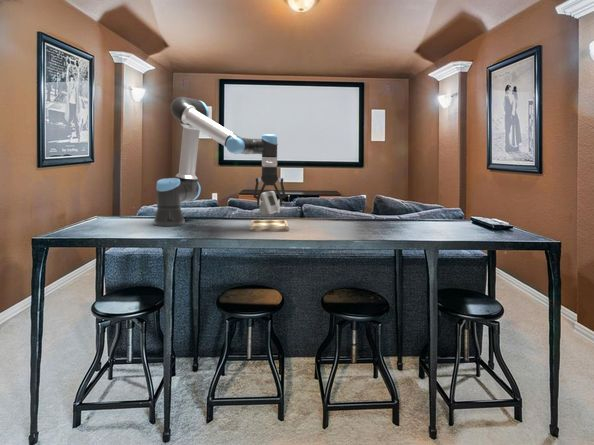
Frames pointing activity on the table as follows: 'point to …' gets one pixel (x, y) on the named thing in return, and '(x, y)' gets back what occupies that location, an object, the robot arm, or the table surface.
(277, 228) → the birch tray
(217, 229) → the table surface
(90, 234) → the table surface
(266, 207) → the digital clock
